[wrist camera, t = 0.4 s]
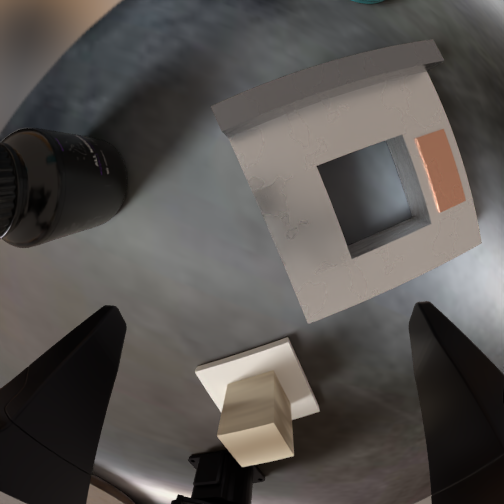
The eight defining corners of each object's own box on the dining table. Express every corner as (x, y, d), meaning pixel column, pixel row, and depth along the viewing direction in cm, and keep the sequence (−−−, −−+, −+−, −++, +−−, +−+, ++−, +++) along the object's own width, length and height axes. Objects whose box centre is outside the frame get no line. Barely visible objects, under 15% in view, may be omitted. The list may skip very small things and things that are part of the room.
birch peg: (290, 403, 24) (294, 456, 18) (247, 415, 24) (241, 467, 18) (273, 370, 23) (273, 422, 17) (227, 384, 23) (216, 435, 18)
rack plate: (460, 235, 20) (501, 251, 15) (303, 305, 22) (312, 343, 17) (400, 64, 18) (433, 39, 12) (225, 124, 20) (210, 106, 14)
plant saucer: (177, 523, 33) (173, 538, 30) (98, 517, 36) (93, 528, 33) (89, 450, 29) (79, 467, 26) (24, 451, 32) (15, 462, 29)
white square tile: (318, 405, 24) (319, 411, 24) (237, 428, 26) (236, 434, 25) (288, 336, 23) (288, 341, 22) (196, 366, 24) (194, 371, 23)
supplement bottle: (139, 144, 20) (24, 123, 8) (122, 234, 22) (11, 285, 10) (69, 134, 20) (-47, 122, 8) (55, 215, 22) (-56, 247, 10)
